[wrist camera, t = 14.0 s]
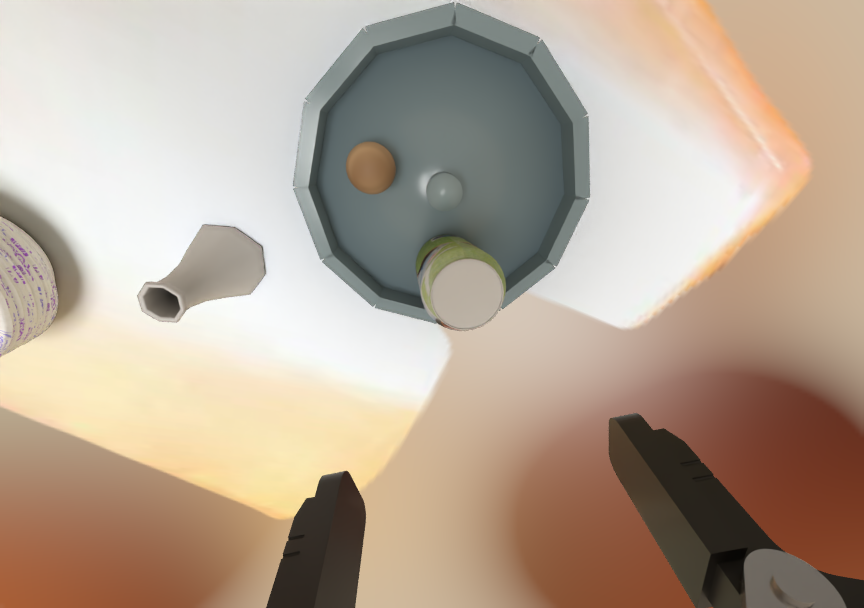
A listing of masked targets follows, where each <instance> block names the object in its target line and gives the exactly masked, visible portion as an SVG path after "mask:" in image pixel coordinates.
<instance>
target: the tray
mask: <svg viewBox="0 0 864 608" xmlns="http://www.w3.org/2000/svg"><path fill="white" fill-rule="evenodd" d="M366 30H367V33H366V32H365V30H364V29H363V28H362V30H361V31H360V32H359V33H358V34H357V36H356V37H355V38H354V39H353V41H352V42H351V43H350V44H349V46H348V47H347V48H346V49H345V50H344V52H343V53H342V54H341V55H340V57H339V58H338V59H337V60H336V62H335V63H334V64H333V65H332V66H331V68H330V69H329V70H328V71H327V73H326V74H325V75H324V76H323V78H322V79H321V80H320V81H319V82H318V84H317V85H316V86H315V87H314V89H313V90H312V91H311V92H310V94H309V95H308V96H307V97H306V98H305V99H306V100H307V101H308V102H309V103H307V102H304V106H303V114H302V121H301V129H300V136H299V144H298V151H297V159H296V166H295V173H294V181H293V186H295V187H296V188H294V189H293V190H294V192H295V195H296V197H297V200H298V203H299V205H300V208H301V210H302V213H303V216H304V218H305V221H306V223H307V226H308V229H309V231H310V234H311V236H312V239H313V242H314V244H315V247H316V249H317V252H318V255H319V257H320V260H321V259H324V260H323V261H322V262H323V263H324V264H325V265H326V266H327V267H328V268H330V269H331V270H332V271H333V272H334V273H335V274H336V275H337V276H339V277H340V278H341V279H342V280H343V281H344V282H345V283H347V284H348V285H349V286H350V287H351V288H352V289H353V290H354V291H356V292H357V293H358V294H359V295H360V296H361V297H362V298H364V299H365V300H366V301H367V302H368V303H369V304H370V305H371V306H374V305H375V304H376V305H375V308H378V309H381V310H385V311H389V312H393V313H397V314H401V315H405V316H409V317H413V318H417V319H420V320H424V321H428V322H432V323H437V322H435V321H434V320H433V319H432V318H431V317H430V316H429V314H428V313H427V311H426V309H425V308H424V305H423V302H422V299H421V294H420V289H419V284H418V279H417V274H416V258H417V256H418V253H419V251H420V249H421V248H422V247H423V245H424V244H425V243H426V242H428V241H429V240H430V239H432V238H434V237H436V236H439V235H444V234H451V235H456V236H459V237H461V238H463V239H465V240H466V241H468V242H470V243H471V244H473V245H474V246H476V247H478V248H479V249H481V250H483V251H484V252H486V253H488V254H489V255H491V256H492V257H493V258H494V259H495V260H496V261H497V263H498V264H499V265H500V267H501V269H502V271H503V273H504V277H505V282H506V293H505V298H504V302H503V304H502V306H501V308H502V309H504V308H505V307H506V306H507V305H509V304H510V303H511V302H513V301H514V300H515V299H516V298H518V297H519V296H520V295H521V294H523V293H524V292H525V291H527V290H528V289H529V288H530V287H532V286H533V285H534V284H536V283H537V282H538V281H539V280H541V279H542V278H543V277H545V276H546V275H547V274H548V273H550V272H551V271H552V270H554V269H555V267H554V266H553V265H555V266H557V265H558V263H559V261H560V259H561V257H562V255H563V253H564V251H565V249H566V247H567V244H568V242H569V240H570V238H571V236H572V234H573V232H574V230H575V228H576V226H577V224H578V222H579V220H580V218H581V216H582V214H583V212H584V210H585V208H586V206H587V204H588V202H589V200H587V199H585V198H589V197H590V176H589V122H588V116H587V117H584V116H585V115H586V114H588V113H587V112H586V110H585V108H584V107H583V105H582V104H581V102H580V100H579V99H578V97H577V95H576V94H575V92H574V91H573V89H572V87H571V86H570V84H569V82H568V81H567V79H566V78H565V76H564V74H563V73H562V71H561V69H560V68H559V66H558V65H557V63H556V61H555V60H554V58H553V56H552V55H551V53H550V52H549V50H548V48H547V47H546V45H545V43H544V42H543V40H541V41H540V42H538V41H539V38H540V37H538V36H535V35H533V34H530V33H528V32H526V31H523V30H521V29H519V28H516V27H514V26H512V25H509V24H507V23H504V22H502V21H500V20H497V19H495V18H493V17H490V16H488V15H486V14H483V13H481V12H478V11H476V10H474V9H471V8H469V7H467V6H464V5H462V4H460V3H457V4H456V8H455V7H454V2H453V3H449V4H445V5H442V6H438V7H434V8H431V9H427V10H423V11H420V12H416V13H412V14H409V15H405V16H401V17H398V18H394V19H390V20H387V21H383V22H379V23H375V24H372V25H368V26H366ZM363 142H376V143H379V144H381V145H382V146H384V147H385V148H386V149H387V150H388V151H389V152H390V153H391V155H392V156H393V159H394V161H395V166H396V173H395V178H394V180H393V183H392V184H391V186H390V187H389V188H388V189H387V190H385V191H384V192H381V193H379V194H366V193H363V192H361V191H359V190H358V189H357V188H355V187H354V186H353V184H352V183H351V182H350V180H349V178H348V175H347V172H346V161H347V157H348V155H349V153H350V151H351V150H352V149H353V148H354V147H355V146H356V145H358V144H360V143H363ZM499 311H500V310H499Z"/></svg>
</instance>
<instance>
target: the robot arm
mask: <svg viewBox="0 0 864 608" xmlns="http://www.w3.org/2000/svg"><path fill="white" fill-rule="evenodd" d="M609 457H610V461H611V464H612V466H613V469H614V471H615V473H616V475H617V476H618V478H619V480H620V482H621V483H622V485H623V486H624V488H625V490H626V491H627V493H628V495H629V497H630V498H631V500H632V502H633V503H634V505H635V507H636V508H637V510H638V512H639V513H640V515H641V517H642V518H643V520H644V522H645V523H646V525H647V527H648V529H649V530H650V532H651V534H652V535H653V537H654V539H655V540H656V542H657V544H658V545H659V547H660V549H661V550H662V552H663V554H664V555H665V557H666V559H667V560H668V562H669V564H670V565H671V567H672V569H673V570H674V572H675V574H676V575H677V577H678V579H679V581H680V582H681V584H682V586H683V587H684V589H685V591H686V592H687V594H688V595H689V597H690V599H691V601H692V602H693V604H694V606H695V607H696V608H708V607H713V608H864V580H859V579H853V578H847V577H841V576H836V575H831V574H828V573H824V572H822V571H819V570H816V569H815V568H813V567H812V566H810V565H809V564H807V563H806V562H804V561H802V560H800V559H799V558H797V557H795V556H793V555H790V554H788V553H786V552H785V551H783V550H782V549H781V548H780V547H778V546H777V545H776V544H775V543H774V542H773V541H772V540H771V539H770V538H769V537H768V536H767V535H766V533H765V532H764V531H763V530H762V529H761V528H760V527H759V526H758V524H757V523H756V522H755V521H754V520H753V519H752V518H751V517H750V515H749V514H748V513H747V512H746V511H745V510H744V509H743V507H742V506H741V505H740V504H739V503H738V502H737V501H736V500H735V498H734V497H733V496H732V495H731V494H730V493H729V492H728V491H727V489H726V488H725V487H724V486H723V485H722V484H721V483H720V481H719V480H718V479H717V478H715V477H714V476H713V473H712V472H711V471H710V470H709V469H708V468H707V467H706V466H705V465H704V463H701V461H700V459H699V458H698V456H697V455H696V454H695V453H694V452H693V451H692V450H691V449H690V447H689V446H688V445H687V444H686V443H685V442H684V441H683V440H681V439H679V438H678V437H676V436H675V435H673V434H672V433H670V432H669V431H667V430H666V429H658V430H652V429H651V427H650V426H649V425H648V424H647V422H646V421H645V420H644V418H643V417H642V416H641V415H639V414H637V413H634V414H629V415H624V416H619V417H615V418H610V420H609ZM365 523H366V511H365V505H364V501H363V499H362V497H361V495H360V493H359V491H358V489H357V487H356V485H355V483H354V481H353V479H352V477H351V475H350V474H349V472H348V471H343V472H338V473H333V474H328V475H324V476H322V477H321V479H320V481H319V484H318V487H317V491H316V495H315V497H312V498H307V499H306V500H305V502H304V503H303V505H302V506H301V508H300V509H299V511H298V512H297V514H296V516H295V517H294V520H293V523H292V527H291V530H290V533H289V536H288V538H289V540H288V541H287V543H286V546H285V549H284V552H283V559H281V562H280V565H279V569H278V572H277V575H276V578H275V581H274V584H273V588H272V591H271V594H270V597H269V601H268V604H267V607H266V608H355V603H356V595H357V586H358V579H359V571H360V563H361V554H362V547H363V539H364V531H365Z"/></svg>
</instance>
